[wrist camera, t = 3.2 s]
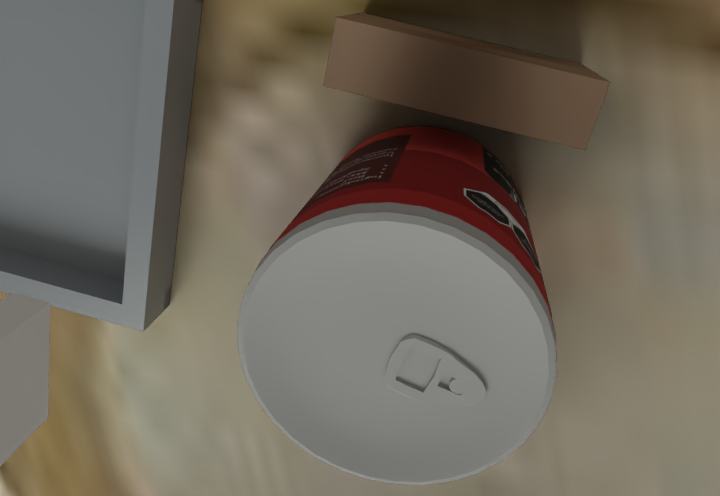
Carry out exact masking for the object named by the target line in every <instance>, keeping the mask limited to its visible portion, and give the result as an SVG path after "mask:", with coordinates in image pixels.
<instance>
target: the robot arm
mask: <svg viewBox="0 0 720 496" xmlns="http://www.w3.org/2000/svg"><path fill="white" fill-rule="evenodd" d="M49 344H50V303H49V302H46V301H42V300H38V299H35V298H31V297H28V296H24V295H20V294H17V293H13V292H12V293H11V294H9V295H8V296H6V297H5V298H3V299H2V300H0V466H1V465H2V464H3V463H4V462H5V461H6V460H7V459H8V458H9V457H10V456H11V455H12V454H13V453H14V452H15V451H16V450H17V449H18V448H19V447H20V446H21V445H22V444H23V443H24V442H25V441H26V440H27V439H28V438H29V437H30V436H31V435H32V434H33V433H34V432H35V431H36V430H37V429H38V428H39V427H40V426H41V425H42V424H43V423H44V422H45V421H46V420H47V419H48V401H49Z"/></svg>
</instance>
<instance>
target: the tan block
mask: <svg viewBox="0 0 720 496" xmlns="http://www.w3.org/2000/svg"><path fill="white" fill-rule="evenodd" d="M609 83H610V82H609V81H607V80H606V79H604V78H602V77H601V76H599V75H598V74H596V73H595V72H593V71H592V70H590V69H589V68H587V67H585V66H584V65H582V64H578V63H573V62H569V61H565V60H561V59H557V58H552V57H548V56H544V55H540V54H535V53H531V52H527V51H523V50H519V49H514V48H510V47H506V46H502V45H497V44H493V43H489V42H485V41H481V40H476V39H472V38H468V37H464V36H459V35H455V34H451V33H447V32H442V31H438V30H434V29H430V28H426V27H421V26H417V25H413V24H409V23H404V22H400V21H396V20H392V19H388V18H383V17H379V16H375V15H371V14H366V13H358V14H352V15H346V16H340V17H336V20H335V25H334V30H333V36H332V41H331V46H330V52H329V57H328V62H327V68H326V73H325V78H324V84H323V86H326V87H330V88H334V89H338V90H342V91H346V92H350V93H354V94H358V95H362V96H366V97H370V98H374V99H379V100H383V101H387V102H391V103H395V104H399V105H403V106H407V107H411V108H415V109H419V110H423V111H427V112H431V113H435V114H440V115H444V116H448V117H452V118H456V119H460V120H464V121H468V122H472V123H476V124H480V125H484V126H488V127H492V128H496V129H501V130H505V131H509V132H513V133H517V134H521V135H525V136H529V137H533V138H537V139H541V140H545V141H549V142H553V143H557V144H562V145H566V146H570V147H574V148H578V149H582V150H586V148H587V145H588V142H589V139H590V136H591V134H592V131H593V128H594V125H595V122H596V120H597V117H598V114H599V111H600V109H601V106H602V103H603V100H604V97H605V95H606V92H607V89H608V86H609Z"/></svg>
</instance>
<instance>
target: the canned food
mask: <svg viewBox="0 0 720 496" xmlns="http://www.w3.org/2000/svg"><path fill="white" fill-rule="evenodd" d="M238 350H239V355H240V359H241V363H242V368H243V372H244V375H245V377H246V379H247V381H248V383H249V386H250V388H251V390H252V392H253V395H254V397H255V398H256V400H257V401H258V403H259V404H260V405H261V407H262V408H263V410H264V411H265V413H266V414H267V415H268V417H269V418H270V420H271V421H272V422H273V423H274V424H275V425H276V426H277V427H278V428H279V429H280V430H281V431H282V432H283V433H284V434H285V435H286V436H287V437H288V438H289V439H290V440H292V441H293V442H294V443H296V444H297V445H298V446H300V447H301V448H303V449H304V450H305V451H307V452H308V453H309V454H311V455H312V456H314V457H316V458H318V459H320V460H321V461H323V462H325V463H327V464H329V465H331V466H333V467H335V468H337V469H339V470H342V471H345V472H348V473H351V474H353V475H356V476H359V477H362V478H365V479H370V480H375V481H381V482H386V483H391V484H409V485H426V484H434V483H442V482H450V481H454V480H457V479H461V478H464V477H467V476H471V475H474V474H477V473H479V472H481V471H483V470H485V469H487V468H489V467H491V466H493V465H495V464H497V463H499V462H501V461H502V460H504V459H505V458H506V457H507V456H509V455H510V454H511V453H512V452H514V451H515V450H516V449H517V448H519V447H520V446H521V445H522V444H523V443H524V442H525V441H526V440H527V438H528V437H529V436H530V435H531V433H532V432H533V431H534V430H535V428H536V427H537V426H538V425H539V423H540V421H541V419H542V417H543V415H544V413H545V411H546V409H547V407H548V405H549V403H550V400H551V397H552V392H553V387H554V382H555V378H556V335H555V330H554V325H553V321H552V314H551V309H550V305H549V301H548V297H547V294H546V290H545V286H544V282H543V278H542V274H541V270H540V266H539V262H538V258H537V254H536V250H535V246H534V242H533V238H532V235H531V231H530V227H529V223H528V219H527V215H526V211H525V207H524V204H523V200H522V197H521V193H520V191H519V189H518V187H517V185H516V183H515V181H514V180H513V178H512V176H511V174H510V173H509V172H508V171H507V169H506V168H505V167H504V166H503V164H502V163H501V162H500V161H499V160H498V159H497V158H496V157H495V156H494V155H493V154H491V153H490V152H489V151H488V150H486V149H485V148H484V147H483V146H481V145H480V144H478V143H476V142H474V141H472V140H470V139H469V138H467V137H465V136H463V135H460V134H457V133H454V132H450V131H447V130H444V129H439V128H431V127H422V126H419V127H405V128H398V129H394V130H390V131H386V132H383V133H380V134H378V135H376V136H374V137H372V138H370V139H368V140H366V141H364V142H362V143H361V144H359V145H358V146H357V147H356V148H354V149H353V150H352V151H350V152H349V153H348V154H347V155H346V156H345V157H344V159H343V160H342V161H341V162H340V163H339V165H338V166H337V167H336V168H335V169H334V171H333V172H332V173H331V174H330V175H329V177H328V178H327V179H326V180H325V182H324V183H323V184H322V185H321V186H320V188H319V189H318V190H317V191H316V193H315V194H314V195H313V196H312V197H311V199H310V200H309V201H308V202H307V204H306V205H305V206H304V207H303V208H302V210H301V211H300V212H299V213H298V214H297V216H296V217H295V218H294V219H293V221H292V222H291V223H290V224H289V225H288V227H287V228H286V229H285V230H284V232H283V233H282V234H281V235H280V236H279V238H278V239H277V240H276V241H275V242H274V244H273V245H272V246H271V248H270V250H269V251H268V253H267V254H266V255H265V256H264V258H263V259H262V260H261V261H260V263H259V265H258V267H257V269H256V271H255V273H254V275H253V277H252V279H251V281H250V283H249V285H248V288H247V290H246V292H245V294H244V296H243V300H242V304H241V309H240V313H239V317H238Z"/></svg>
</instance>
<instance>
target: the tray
mask: <svg viewBox="0 0 720 496" xmlns="http://www.w3.org/2000/svg"><path fill="white" fill-rule="evenodd" d="M202 1H203V0H0V292H3V293H7V294H11V293H12V292H13V293H17V294H20V295H24V296H28V297H31V298H35V299H38V300H42V301H46V302H49V303H50V306H53V307H57V308H60V309H64V310H68V311H71V312H75V313H78V314H82V315H86V316H89V317H93V318H96V319H100V320H103V321H107V322H111V323H114V324H118V325H121V326H125V327H129V328H132V329H136V330H139V331H144V330H145V329H146V328H147V327H148V326H149V325H150V324H151V323H152V322H153V321H154V320H155V319H156V318H157V317H158V316H159V315H160V314H161V313H162V312H163V311H164V310H165V309H166V308H167V307H168V306H169V303H170V293H171V284H172V275H173V266H174V257H175V248H176V238H177V229H178V220H179V211H180V202H181V193H182V184H183V174H184V165H185V156H186V147H187V138H188V129H189V120H190V110H191V101H192V92H193V83H194V74H195V65H196V55H197V46H198V37H199V28H200V19H201V10H202Z"/></svg>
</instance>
